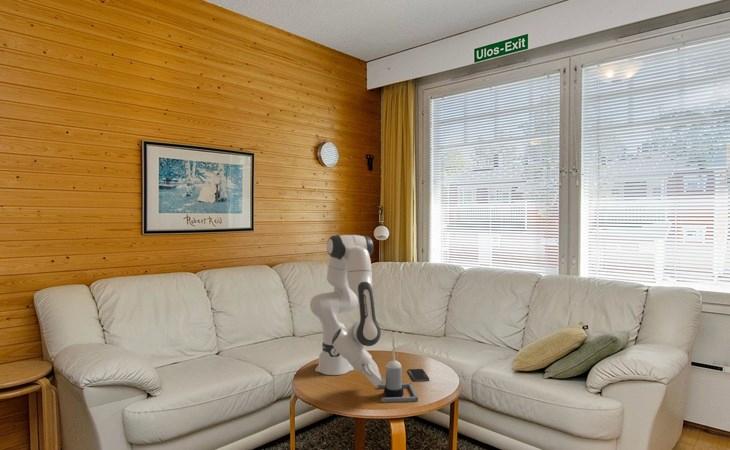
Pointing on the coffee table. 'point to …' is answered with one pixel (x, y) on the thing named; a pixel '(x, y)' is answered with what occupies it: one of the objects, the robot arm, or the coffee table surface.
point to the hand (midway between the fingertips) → (384, 383)
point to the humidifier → (393, 377)
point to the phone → (418, 375)
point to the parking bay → (400, 399)
